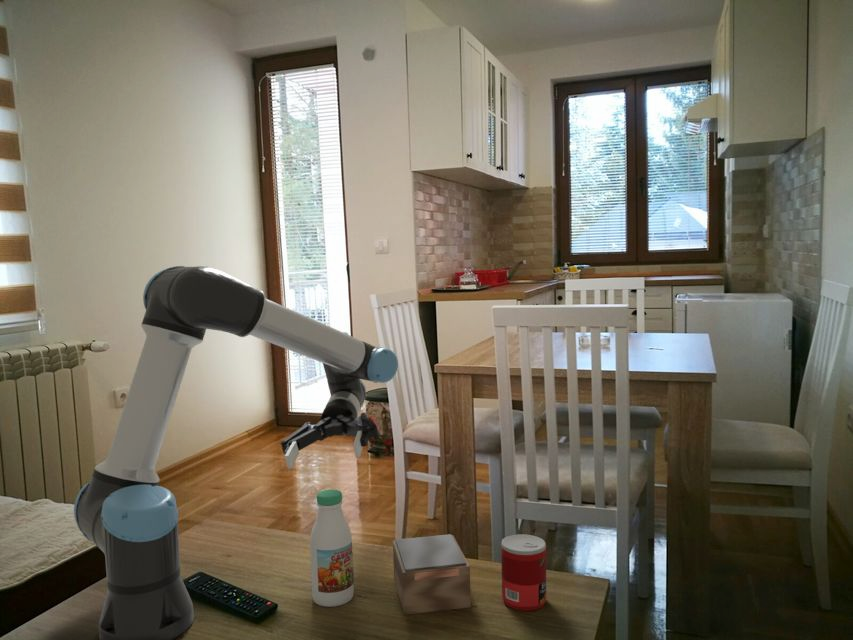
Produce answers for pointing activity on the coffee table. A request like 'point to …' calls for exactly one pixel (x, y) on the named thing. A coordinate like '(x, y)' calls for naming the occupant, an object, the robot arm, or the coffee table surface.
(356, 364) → the robot arm
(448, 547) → the riser
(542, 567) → the canned food
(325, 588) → the milk bottle
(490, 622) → the coffee table surface
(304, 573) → the coffee table surface
